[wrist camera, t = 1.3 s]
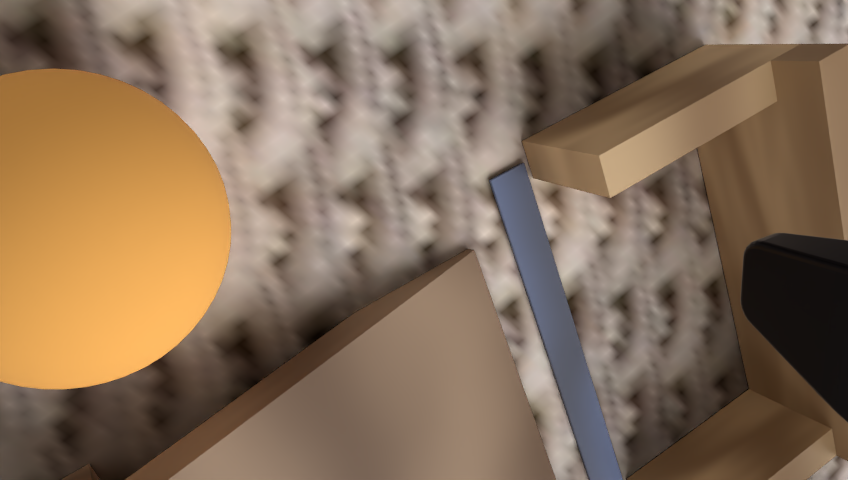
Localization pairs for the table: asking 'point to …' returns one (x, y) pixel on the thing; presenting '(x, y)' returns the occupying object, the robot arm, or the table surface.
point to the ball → (100, 229)
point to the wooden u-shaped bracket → (734, 226)
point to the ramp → (379, 400)
